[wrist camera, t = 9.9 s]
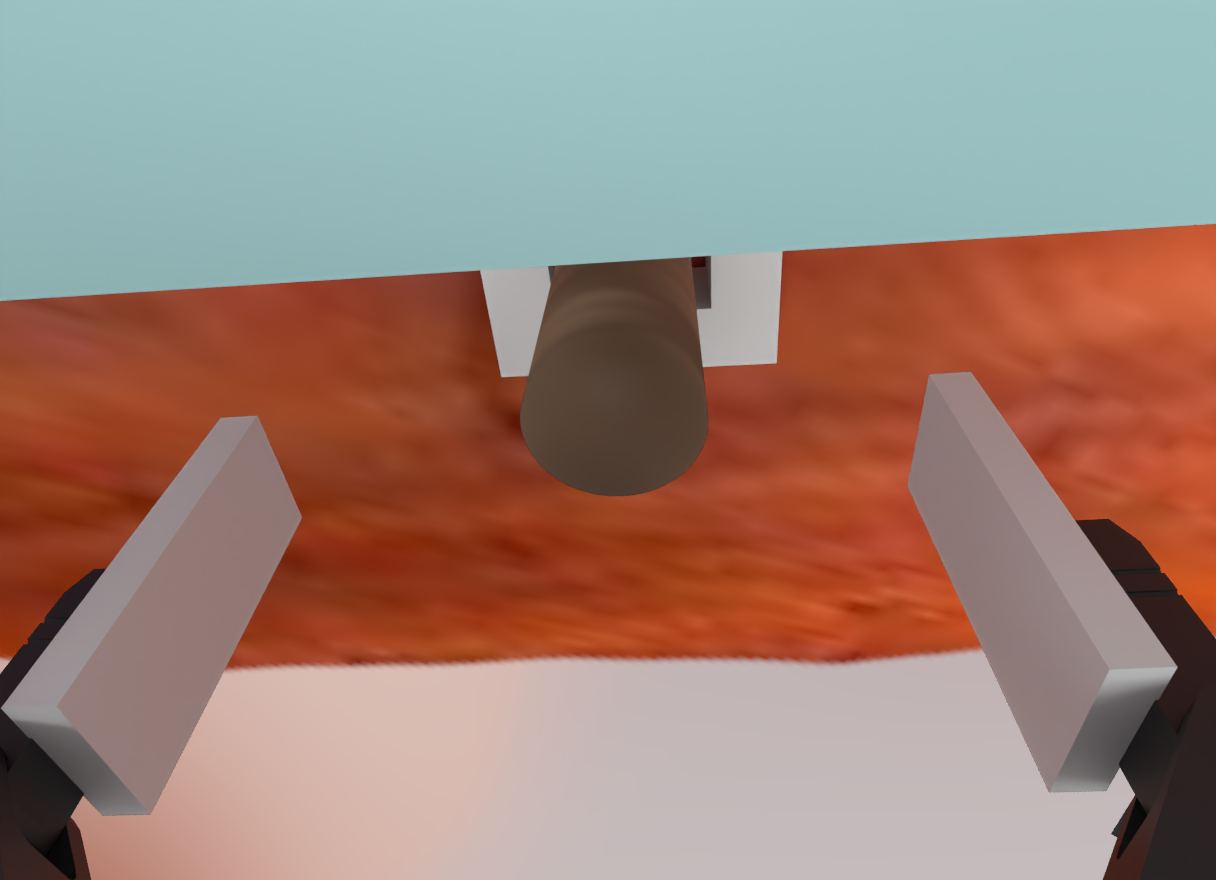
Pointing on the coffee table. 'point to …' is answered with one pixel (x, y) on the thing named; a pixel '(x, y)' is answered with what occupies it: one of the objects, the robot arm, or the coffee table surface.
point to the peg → (617, 377)
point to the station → (581, 139)
